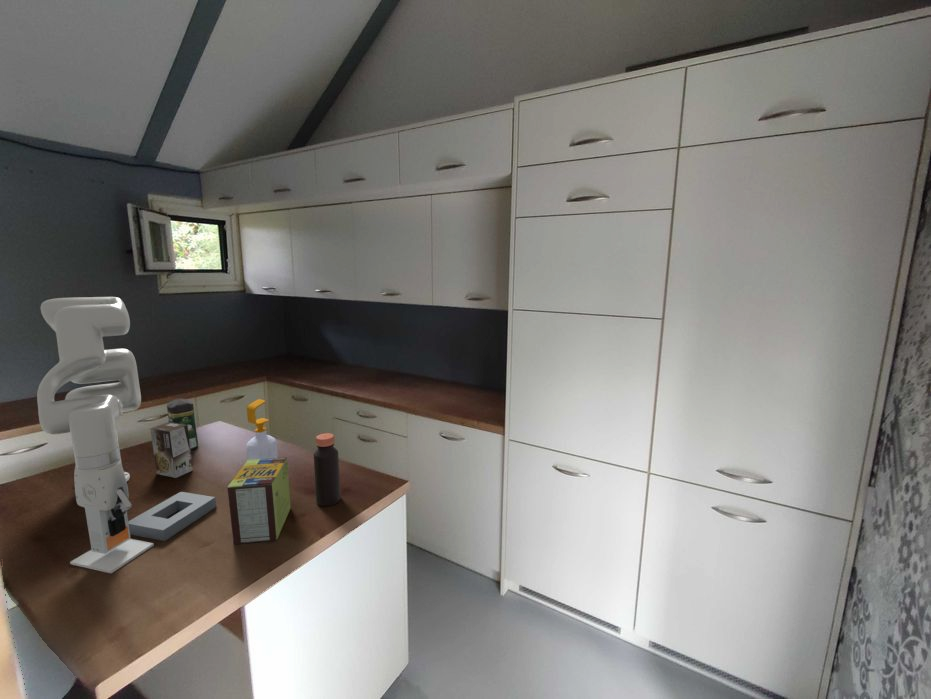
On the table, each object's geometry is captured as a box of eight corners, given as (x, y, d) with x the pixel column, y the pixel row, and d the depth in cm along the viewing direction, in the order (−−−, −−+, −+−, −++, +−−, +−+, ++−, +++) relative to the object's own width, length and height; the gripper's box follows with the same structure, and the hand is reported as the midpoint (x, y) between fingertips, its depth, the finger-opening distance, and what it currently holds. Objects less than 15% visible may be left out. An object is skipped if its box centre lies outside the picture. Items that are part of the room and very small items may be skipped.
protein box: (291, 507, 120) (287, 456, 117) (277, 541, 105) (272, 483, 102) (252, 510, 118) (247, 459, 115) (232, 545, 103) (225, 487, 100)
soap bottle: (284, 469, 143) (279, 399, 138) (258, 480, 135) (252, 407, 131) (268, 462, 147) (262, 395, 143) (243, 473, 140) (236, 402, 135)
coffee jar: (169, 446, 160) (163, 399, 157) (193, 440, 166) (188, 395, 162) (176, 454, 153) (170, 405, 150) (200, 448, 159) (195, 400, 156)
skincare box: (106, 554, 96) (97, 506, 93) (91, 552, 97) (82, 504, 94) (132, 538, 101) (124, 492, 99) (118, 536, 102) (110, 490, 100)
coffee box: (194, 470, 142) (188, 424, 139) (175, 478, 136) (169, 431, 133) (174, 465, 145) (168, 421, 142) (155, 474, 139) (149, 427, 136)
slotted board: (126, 533, 107) (125, 523, 107) (182, 501, 123) (180, 491, 122) (164, 541, 104) (163, 530, 104) (216, 506, 120) (215, 497, 119)
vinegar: (312, 500, 123) (308, 436, 120) (333, 492, 128) (329, 430, 125) (323, 509, 119) (319, 443, 115) (345, 500, 124) (342, 436, 120)
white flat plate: (70, 564, 96) (70, 561, 96) (115, 537, 106) (115, 535, 105) (111, 573, 93) (110, 571, 93) (153, 545, 103) (153, 543, 103)
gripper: (50, 460, 93) (64, 535, 97) (109, 469, 89) (121, 546, 93) (87, 447, 101) (99, 517, 104) (143, 455, 97) (153, 527, 100)
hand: (109, 530), depth 98 cm, fingers closed on skincare box, 4 cm apart
